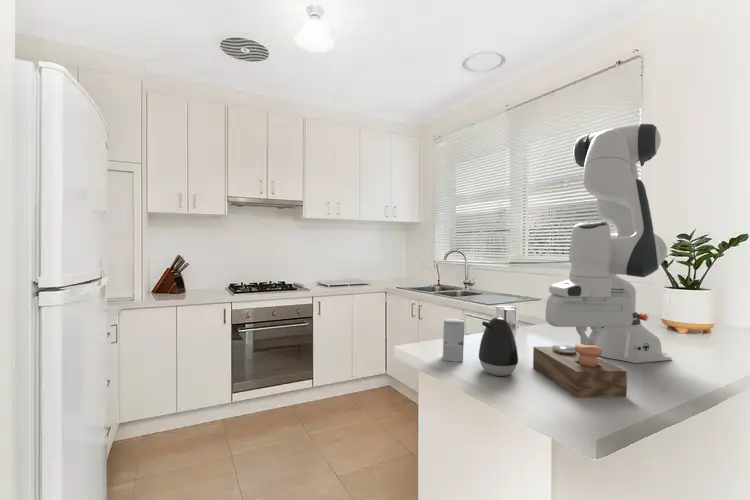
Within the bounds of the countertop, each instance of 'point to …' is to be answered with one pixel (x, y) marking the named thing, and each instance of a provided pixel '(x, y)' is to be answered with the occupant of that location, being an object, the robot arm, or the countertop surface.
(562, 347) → the steel plunger
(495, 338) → the pump dispenser
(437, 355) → the countertop surface
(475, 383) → the countertop surface
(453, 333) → the skincare box
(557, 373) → the walnut block
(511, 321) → the beer glass
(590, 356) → the terracotta plunger
